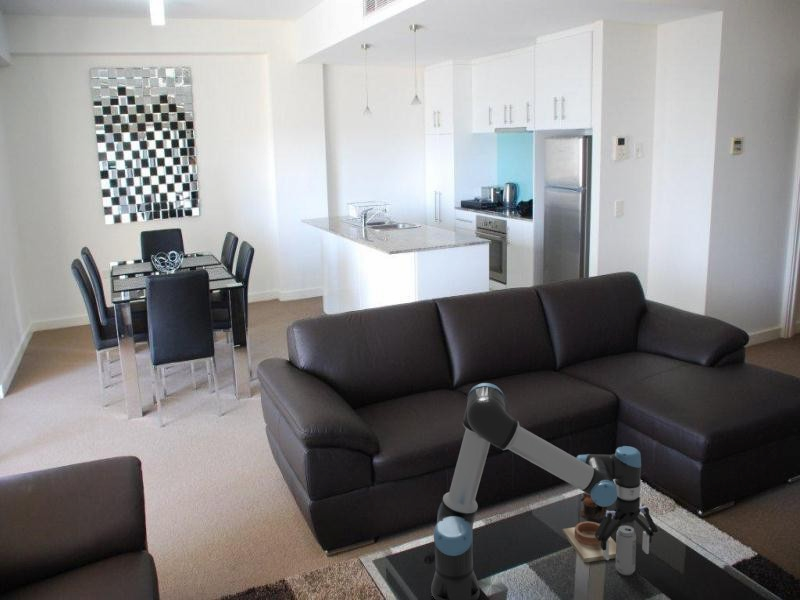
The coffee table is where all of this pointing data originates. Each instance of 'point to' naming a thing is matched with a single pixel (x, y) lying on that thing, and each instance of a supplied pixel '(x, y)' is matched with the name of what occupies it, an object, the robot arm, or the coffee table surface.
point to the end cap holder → (588, 541)
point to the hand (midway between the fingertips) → (625, 554)
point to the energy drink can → (625, 550)
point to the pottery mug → (591, 508)
